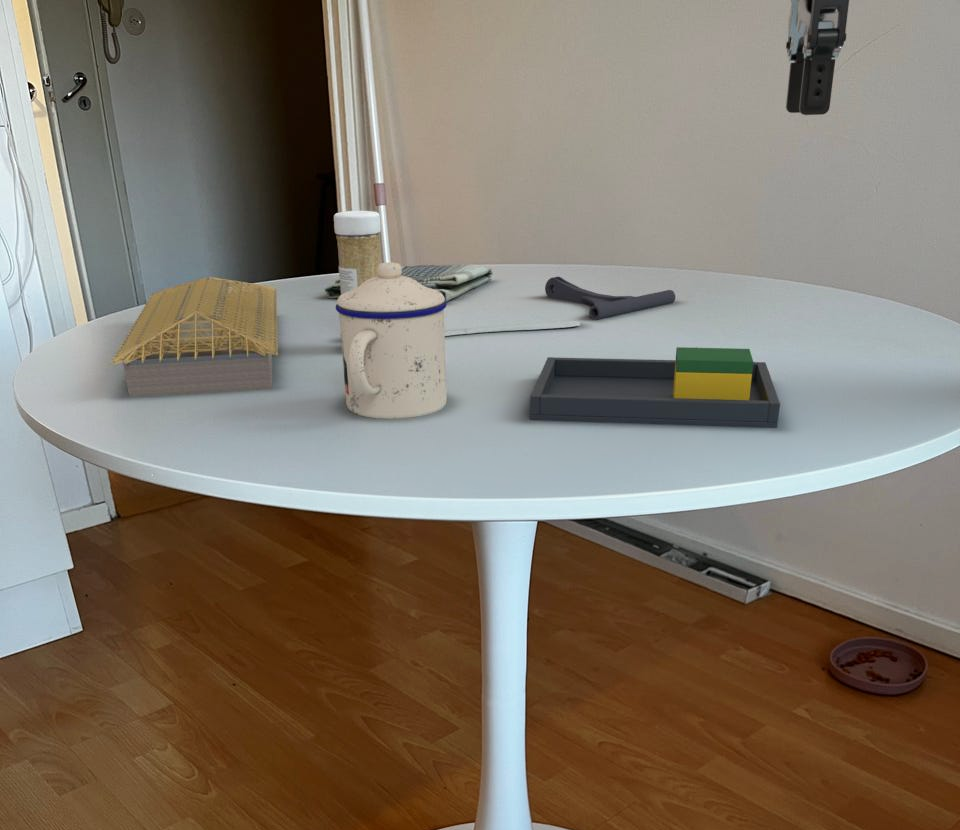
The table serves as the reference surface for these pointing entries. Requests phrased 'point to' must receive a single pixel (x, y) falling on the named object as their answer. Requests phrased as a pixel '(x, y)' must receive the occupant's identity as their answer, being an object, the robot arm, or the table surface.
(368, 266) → the sprinkles bottle
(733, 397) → the sponge
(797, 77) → the robot arm
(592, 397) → the tray
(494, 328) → the butter knife
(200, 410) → the table surface
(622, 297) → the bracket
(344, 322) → the teacup with lid
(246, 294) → the rafter model
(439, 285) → the dish towel
